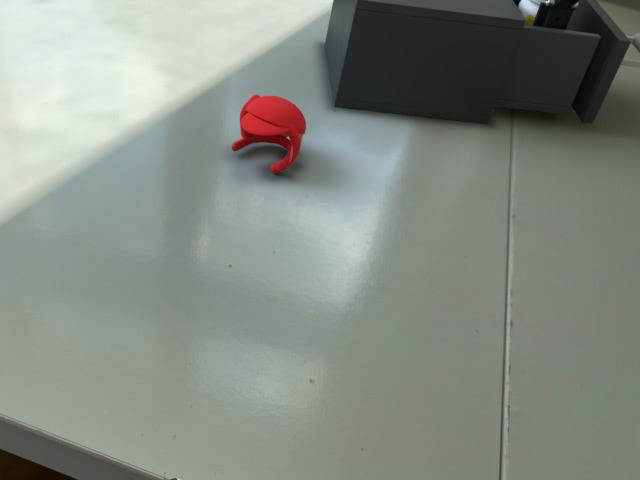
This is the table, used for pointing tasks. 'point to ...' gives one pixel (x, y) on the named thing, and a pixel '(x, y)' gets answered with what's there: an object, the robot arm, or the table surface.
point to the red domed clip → (272, 126)
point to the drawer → (567, 64)
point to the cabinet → (422, 55)
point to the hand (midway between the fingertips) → (535, 30)
